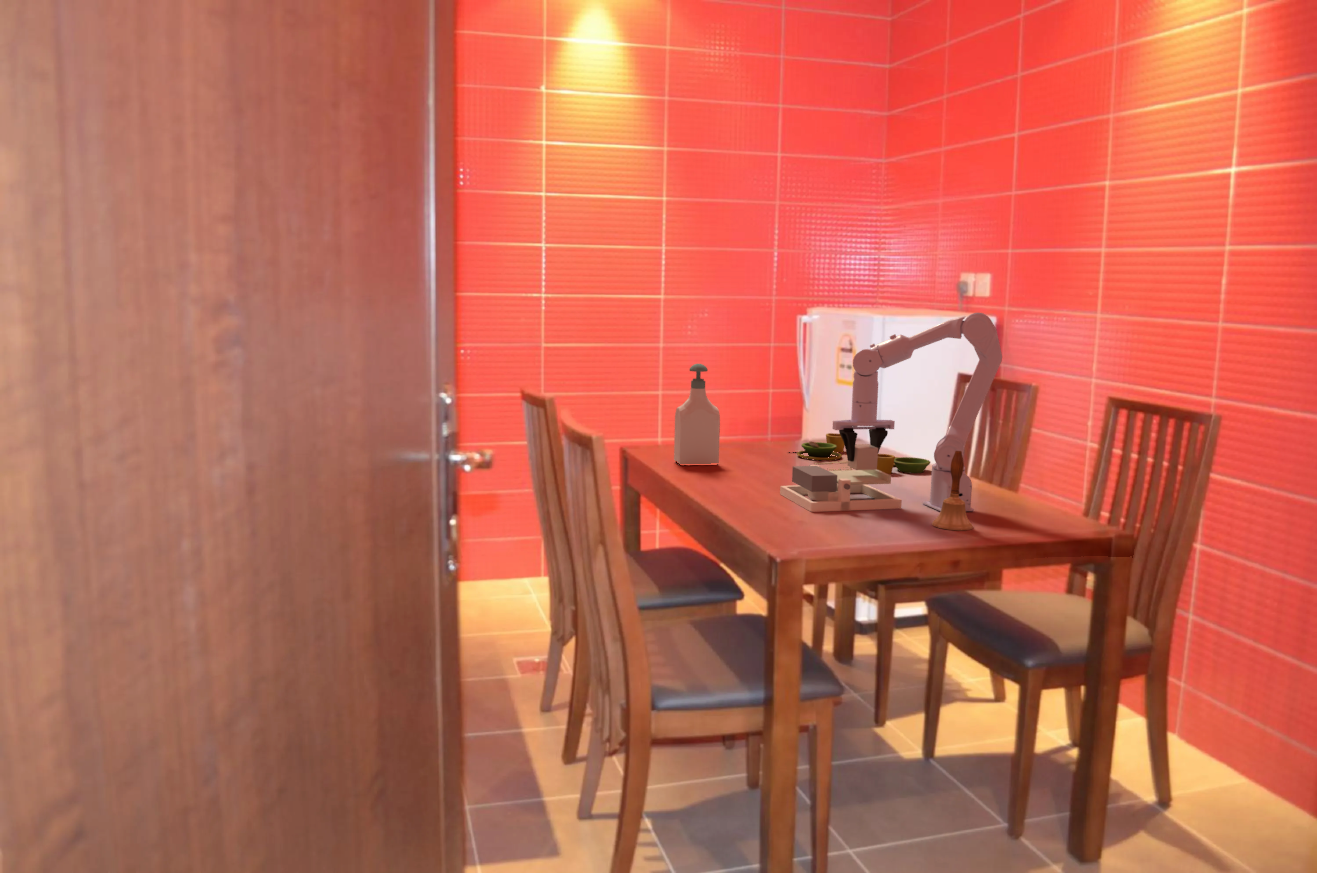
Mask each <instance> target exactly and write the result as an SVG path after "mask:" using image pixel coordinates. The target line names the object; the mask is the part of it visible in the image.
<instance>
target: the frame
mask: <svg viewBox="0 0 1317 873" xmlns="http://www.w3.org/2000/svg"><path fill="white" fill-rule="evenodd" d="M808 466H818V467H821V466H820V465H819V464H818V465H817V464H810V465H808ZM850 484H851V480H849V479H839V480H838V484H837V491H822V492H811V491H809V490H807V489H805V488H803V487H801V486H800V485H798V484H795V485H794V484H793V485H780V486H779V495H781V496H782V497H784V498H786V499H788V500H789V501H791V502H792V503H794V504H796V505H798V506H800V507H802V508H803V509H805V510H807V511H809V513H810V512H811V513H813V512H815V513H816V512H817V513H818V512H842V511H845V512H846V511H866V510H867V511H868V510H869V511H871V510H874V511H875V510H894V509H895V510H896V509H902V499H901V498H898V497H897V496H895V495H892V494H890V493H887V492H885V491H883V490H881V489H878V488H875V487H873V486H872V485H870V484H865V485H850ZM857 493H858V494H859V493H862V494H863V495H866V496H868V497H870V498H872V499H856V500H855V499H853V500H852V499H850V498H851V494H857ZM804 495H807V497H808V498H807V497H805V496H804ZM809 498H810V499H809ZM812 500H814V501H812Z"/></svg>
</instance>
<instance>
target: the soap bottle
mask: <svg viewBox="0 0 1317 873" xmlns="http://www.w3.org/2000/svg"><path fill="white" fill-rule="evenodd" d="M689 372H693V373H694V372H695V378H692V380H691V381H690V391H689V396H688V398H687V399H686V400H685V402H683V404H680V405H679V406H677V407H676V409H675V415H674V437H673V438H674V440H673V443H674V446H673V461H674V460H675V461H677V462H678V463H679V464H711V463H720V437H721V436H720V430H721V429H720V428H721V427H720V426H721V416H720V410H719V408H718V407H717V406H716V405H715V404H713V403H712V402H711V401H710V399H709V398H708V396H707V393H706V391H707V390H706V380H705V379H704V378H702V377H701V373H702V372H708V367H707V366H706V365H705V364H702V363H695V364H693V365H691V366H690V367H689ZM675 461H674V462H675ZM679 464H678V465H679Z"/></svg>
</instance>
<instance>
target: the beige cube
mask: <svg viewBox="0 0 1317 873" xmlns="http://www.w3.org/2000/svg"><path fill="white" fill-rule="evenodd" d="M878 454H879V453H878V448H877V447H874V446H872V445H870V443H859V444H858V443H855V457H854V461H849V460H848V459H847V461H848V463H847V466H848V468H850V467H851V469H852V468H853V470H877V458H878Z"/></svg>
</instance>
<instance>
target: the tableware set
mask: <svg viewBox="0 0 1317 873" xmlns="http://www.w3.org/2000/svg"><path fill="white" fill-rule="evenodd" d="M825 438H826V442H821V441H819V442H816V441H811V440H810V441H808V442H803V443H801V448H803V449H804V451H803V450H798V451H799V452H797V453H796V455H797V456H798V457H799V456H800V457H803V458H808V459H814V460H813V461H816V460H832V461H827V462H814V463H813V465H817V464H818V465H833V464H832V463H840V464H848V460H844V461H843V460H842V461H841V460H840V461H839V462H838V461H836V460H835V459H838V460H839V459H841V458H842V457H843V454H841V453H837V452H842V451H843V452H844V451H845V450H844V449H845V445H844V442H843V440H842V437H841V435H840V433H832V432H830V433H829V432H828V433H826V434H825ZM833 451H834V452H833ZM843 452H842V453H843ZM803 453H808V455H809V456H804V455H801V454H803ZM831 454H832V455H835V456H832V455H831ZM830 455H831V456H830ZM836 456H837V457H836ZM800 457H799V458H800ZM828 457H829V458H828ZM803 458H802V459H803ZM930 464H931V461H930V460H929V459H926V458H925V459H924V458H922V457H911V456H910V457H909V456H908V457H907V456H905V457H903V456H902V457H901V456H900V457H899V456H895V455H893V454H887V453H878V458H877V470H879V471H881V472H884V473H886V474H889V475H891V474H892V473H893V467H895V468H896V469H897V471H898V472H902V473H905V474H921V473H924V472H925V470H926V469H927V467H928V466H930ZM844 468H850V470H852V468H851V467H849V466H848V467H844ZM832 470H833V471H842V469H841V470H840V468H839V469H838V470H836V469H835V470H834V469H829V470H828V471H832ZM847 470H849V469H847Z"/></svg>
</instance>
